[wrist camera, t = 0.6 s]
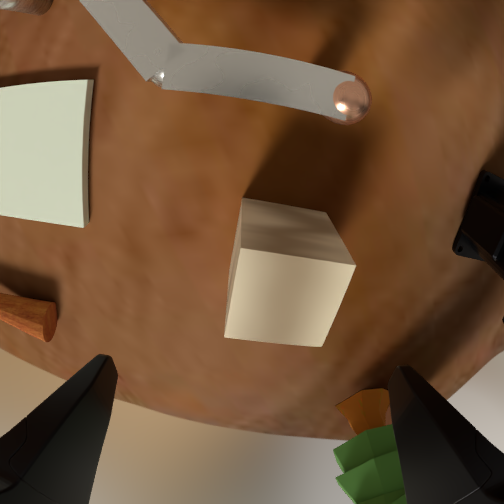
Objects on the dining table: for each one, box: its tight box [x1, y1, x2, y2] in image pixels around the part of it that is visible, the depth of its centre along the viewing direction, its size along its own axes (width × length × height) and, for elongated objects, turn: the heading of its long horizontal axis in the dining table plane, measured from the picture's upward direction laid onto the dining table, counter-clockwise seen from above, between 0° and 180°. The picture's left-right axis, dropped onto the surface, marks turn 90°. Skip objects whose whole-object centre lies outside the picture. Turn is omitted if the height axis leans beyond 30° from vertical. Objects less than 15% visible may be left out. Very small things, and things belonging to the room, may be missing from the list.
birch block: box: [224, 198, 356, 347], centre depth 17 cm, size 5×5×6 cm
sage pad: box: [0, 80, 94, 228], centre depth 15 cm, size 10×9×1 cm
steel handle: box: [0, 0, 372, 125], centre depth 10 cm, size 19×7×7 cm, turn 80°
